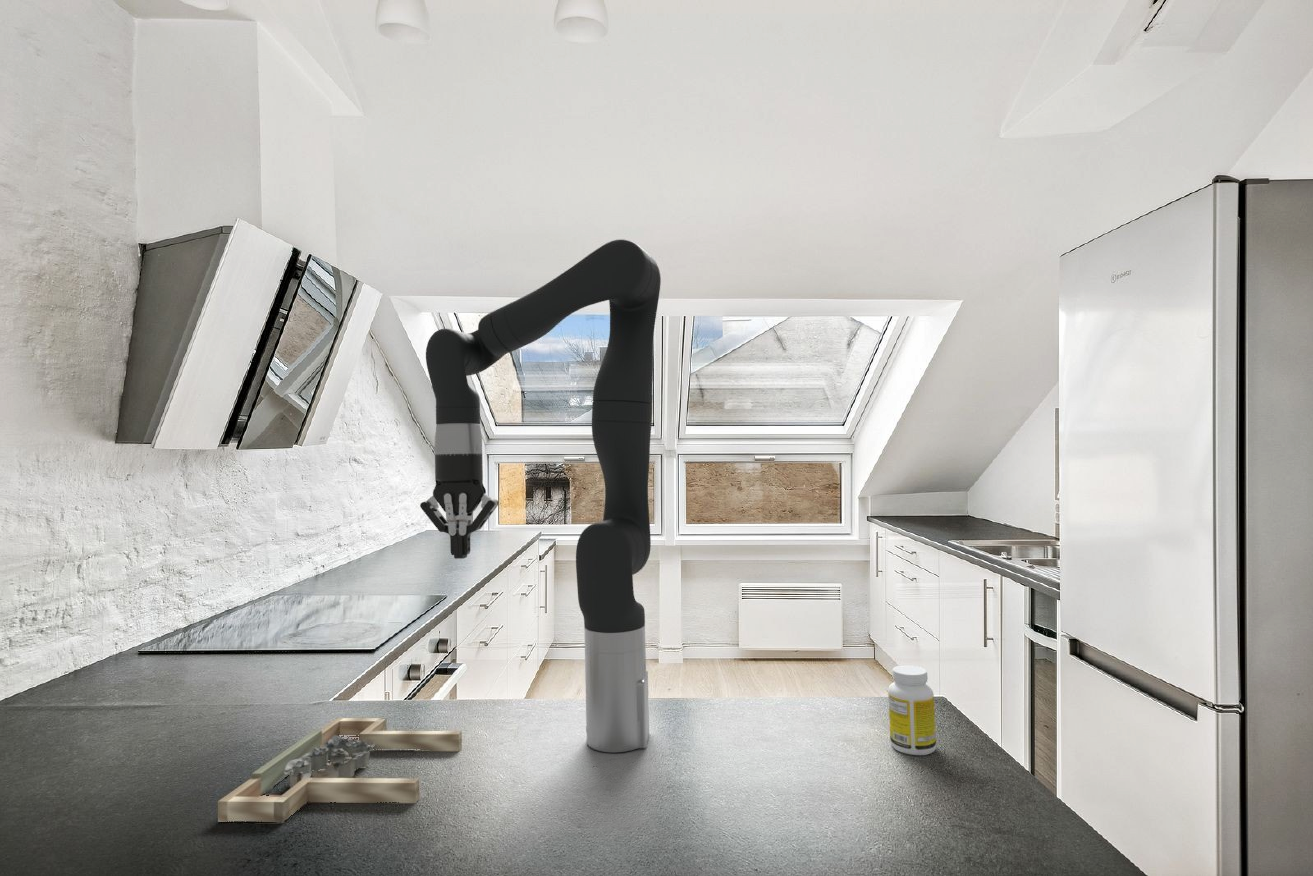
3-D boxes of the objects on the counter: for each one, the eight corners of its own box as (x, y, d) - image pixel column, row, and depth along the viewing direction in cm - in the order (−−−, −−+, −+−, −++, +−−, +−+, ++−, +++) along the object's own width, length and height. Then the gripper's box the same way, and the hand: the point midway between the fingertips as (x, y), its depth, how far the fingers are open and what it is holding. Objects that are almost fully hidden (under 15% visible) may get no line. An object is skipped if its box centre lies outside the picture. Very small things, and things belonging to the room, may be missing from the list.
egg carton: (325, 799, 87) (324, 767, 88) (277, 793, 89) (277, 761, 90) (380, 763, 98) (379, 734, 98) (336, 758, 100) (335, 729, 100)
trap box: (473, 734, 106) (473, 715, 107) (397, 824, 80) (397, 798, 80) (336, 734, 108) (336, 715, 108) (217, 822, 82) (217, 797, 82)
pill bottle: (935, 741, 100) (931, 665, 100) (937, 759, 94) (934, 678, 94) (890, 736, 102) (887, 662, 102) (890, 754, 96) (887, 674, 96)
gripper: (505, 451, 115) (506, 554, 115) (428, 453, 116) (430, 555, 116) (491, 450, 108) (493, 560, 107) (410, 453, 109) (411, 562, 108)
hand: (460, 557), depth 111 cm, fingers closed
